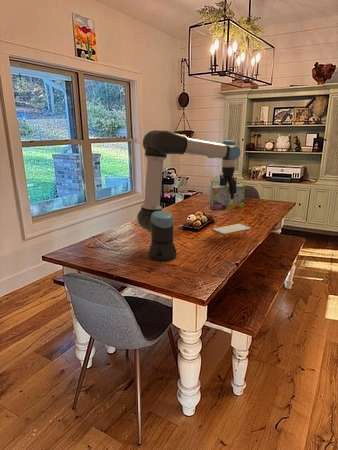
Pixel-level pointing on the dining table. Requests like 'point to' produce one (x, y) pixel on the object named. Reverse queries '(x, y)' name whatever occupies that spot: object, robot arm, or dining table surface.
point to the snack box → (226, 198)
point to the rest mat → (231, 229)
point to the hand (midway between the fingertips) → (227, 202)
